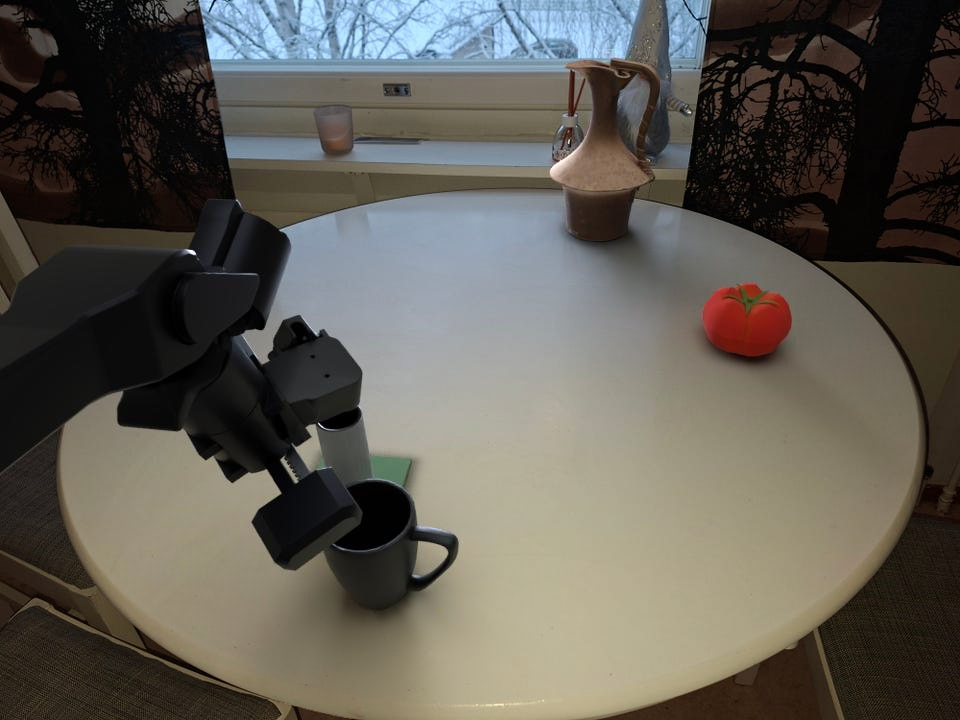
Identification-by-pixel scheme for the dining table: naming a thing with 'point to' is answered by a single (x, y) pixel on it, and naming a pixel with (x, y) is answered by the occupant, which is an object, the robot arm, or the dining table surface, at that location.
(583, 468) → the dining table surface
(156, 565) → the dining table surface
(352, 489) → the mug
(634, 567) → the dining table surface
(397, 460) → the green mat
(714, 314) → the tomato
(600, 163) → the pitcher
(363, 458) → the grey tumbler
